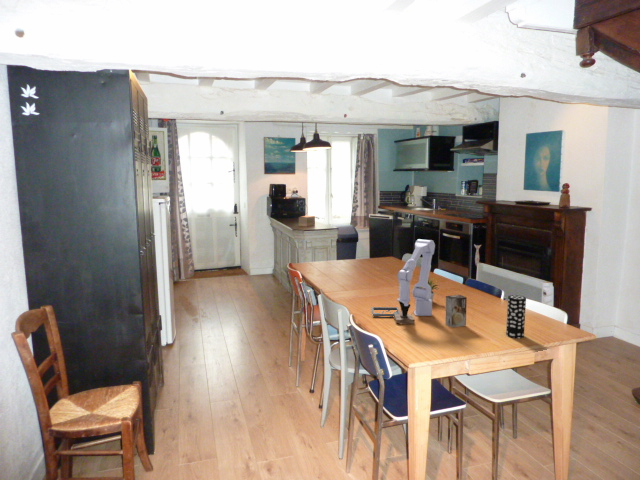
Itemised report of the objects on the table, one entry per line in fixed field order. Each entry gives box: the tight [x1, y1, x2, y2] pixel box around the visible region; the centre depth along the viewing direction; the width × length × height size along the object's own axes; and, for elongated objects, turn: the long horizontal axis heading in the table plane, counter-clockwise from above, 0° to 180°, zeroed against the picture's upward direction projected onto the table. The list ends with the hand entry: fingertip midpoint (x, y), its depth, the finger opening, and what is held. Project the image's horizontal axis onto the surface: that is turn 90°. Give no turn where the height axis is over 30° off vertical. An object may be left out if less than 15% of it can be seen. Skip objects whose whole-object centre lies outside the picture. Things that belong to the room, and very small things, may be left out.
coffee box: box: [445, 294, 468, 328], centre depth 250 cm, size 9×6×16 cm
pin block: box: [393, 313, 416, 325], centre depth 258 cm, size 10×10×2 cm
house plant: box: [420, 277, 440, 303], centre depth 296 cm, size 14×14×16 cm
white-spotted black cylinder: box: [505, 294, 527, 339], centre depth 233 cm, size 8×8×20 cm
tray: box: [370, 306, 402, 317], centre depth 272 cm, size 16×14×2 cm
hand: (404, 315), depth 258 cm, fingers closed on pin, 4 cm apart
